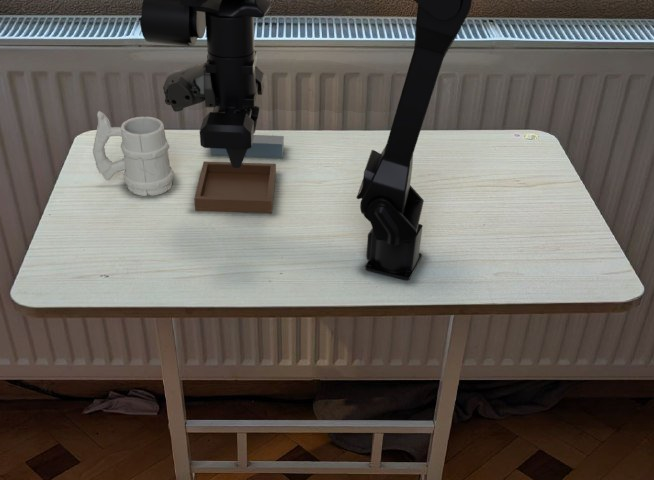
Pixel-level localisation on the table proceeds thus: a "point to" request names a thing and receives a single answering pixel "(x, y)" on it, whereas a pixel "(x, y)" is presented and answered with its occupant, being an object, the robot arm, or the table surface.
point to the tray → (236, 187)
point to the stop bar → (260, 147)
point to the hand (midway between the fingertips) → (236, 166)
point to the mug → (136, 154)
